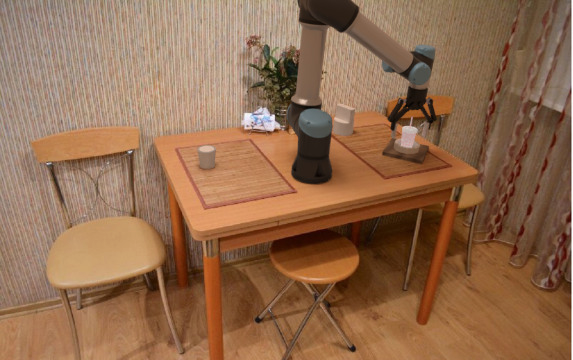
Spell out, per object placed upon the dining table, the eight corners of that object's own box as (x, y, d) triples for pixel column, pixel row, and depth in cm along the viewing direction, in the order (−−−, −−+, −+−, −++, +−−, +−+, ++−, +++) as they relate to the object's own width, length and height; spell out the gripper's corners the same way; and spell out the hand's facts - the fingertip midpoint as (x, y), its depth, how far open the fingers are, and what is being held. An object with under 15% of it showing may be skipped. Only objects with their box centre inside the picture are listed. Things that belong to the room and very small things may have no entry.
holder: (382, 155, 183) (382, 151, 182) (391, 141, 196) (391, 138, 195) (421, 164, 177) (422, 160, 177) (428, 149, 190) (429, 145, 189)
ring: (391, 150, 184) (392, 145, 182) (397, 141, 192) (398, 136, 190) (416, 156, 180) (417, 150, 179) (420, 147, 188) (421, 141, 187)
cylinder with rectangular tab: (328, 131, 203) (331, 105, 197) (341, 126, 208) (344, 101, 202) (343, 137, 197) (346, 111, 191) (356, 132, 203) (360, 107, 197)
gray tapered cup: (209, 159, 172) (208, 143, 169) (220, 166, 168) (219, 149, 165) (194, 164, 168) (193, 148, 165) (205, 171, 164) (204, 154, 160)
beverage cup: (413, 152, 183) (420, 120, 176) (398, 150, 184) (404, 118, 177) (413, 146, 188) (419, 115, 181) (398, 144, 189) (404, 113, 182)
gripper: (391, 90, 168) (383, 141, 178) (452, 89, 172) (441, 139, 182) (384, 83, 174) (376, 134, 184) (443, 83, 178) (432, 132, 189)
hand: (408, 137), depth 183 cm, fingers open, 13 cm apart
